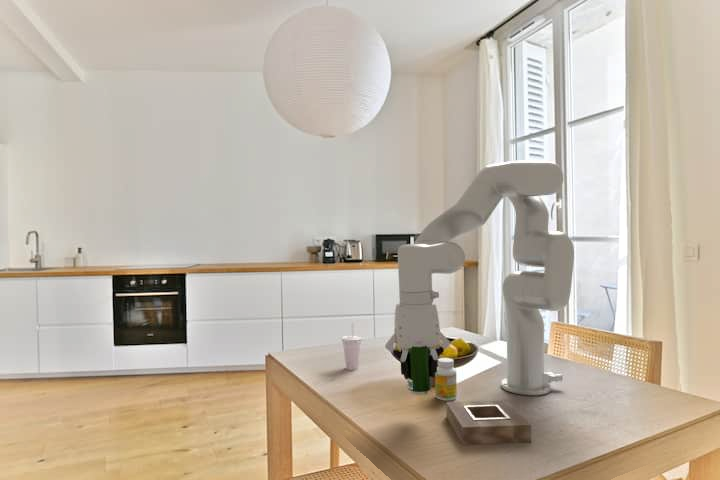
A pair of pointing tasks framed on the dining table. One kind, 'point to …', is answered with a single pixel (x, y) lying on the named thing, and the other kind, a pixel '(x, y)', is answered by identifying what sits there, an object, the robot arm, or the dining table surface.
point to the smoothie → (352, 350)
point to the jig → (487, 423)
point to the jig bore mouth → (486, 418)
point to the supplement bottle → (445, 380)
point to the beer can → (419, 369)
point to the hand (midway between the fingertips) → (419, 375)
